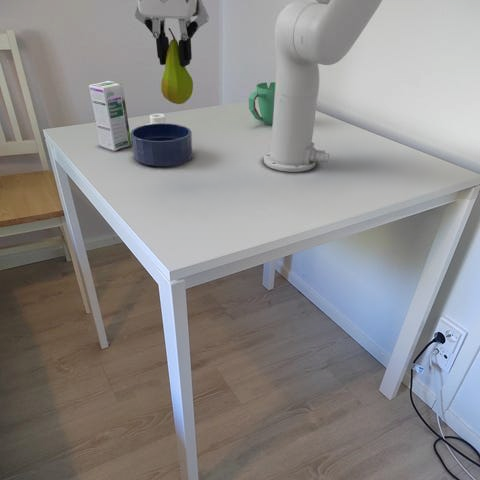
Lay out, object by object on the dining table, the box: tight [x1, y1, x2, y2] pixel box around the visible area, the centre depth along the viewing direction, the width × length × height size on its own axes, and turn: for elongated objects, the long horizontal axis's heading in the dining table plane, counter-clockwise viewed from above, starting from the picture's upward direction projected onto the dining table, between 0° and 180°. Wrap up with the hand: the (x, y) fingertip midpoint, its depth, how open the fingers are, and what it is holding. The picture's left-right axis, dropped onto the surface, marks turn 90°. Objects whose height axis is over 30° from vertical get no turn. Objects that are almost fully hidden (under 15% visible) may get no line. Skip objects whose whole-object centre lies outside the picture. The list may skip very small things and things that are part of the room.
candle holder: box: [145, 113, 171, 125], centre depth 119 cm, size 12×12×4 cm
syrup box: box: [88, 80, 132, 152], centre depth 106 cm, size 6×6×14 cm
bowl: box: [130, 122, 193, 167], centre depth 103 cm, size 14×14×6 cm
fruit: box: [160, 27, 194, 105], centre depth 78 cm, size 6×6×12 cm
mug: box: [248, 81, 276, 126], centre depth 125 cm, size 15×10×10 cm
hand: (175, 63), depth 78 cm, fingers closed on fruit, 3 cm apart
